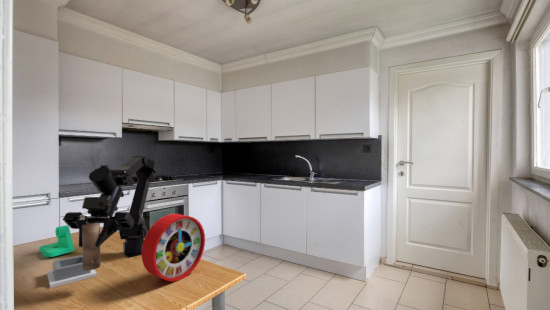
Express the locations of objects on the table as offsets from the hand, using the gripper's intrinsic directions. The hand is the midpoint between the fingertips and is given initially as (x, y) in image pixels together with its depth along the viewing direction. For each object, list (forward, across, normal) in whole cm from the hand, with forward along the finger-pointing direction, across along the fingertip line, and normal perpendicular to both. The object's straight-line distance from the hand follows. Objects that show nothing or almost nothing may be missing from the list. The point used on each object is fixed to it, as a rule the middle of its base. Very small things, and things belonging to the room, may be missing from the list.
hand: (88, 246), depth 82 cm
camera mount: (-12, -30, +32) cm, 46 cm away
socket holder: (+2, -12, +17) cm, 21 cm away
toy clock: (+3, +22, +16) cm, 27 cm away
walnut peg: (+4, 0, +6) cm, 7 cm away
